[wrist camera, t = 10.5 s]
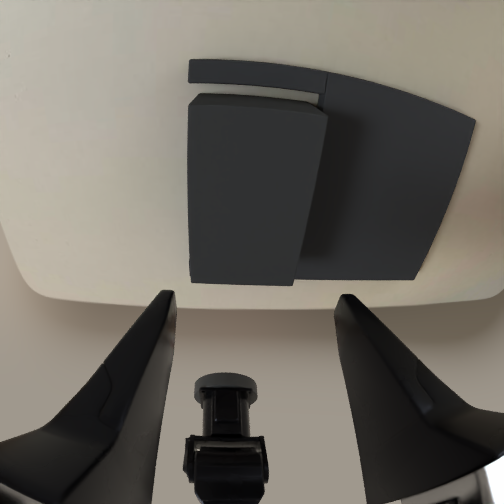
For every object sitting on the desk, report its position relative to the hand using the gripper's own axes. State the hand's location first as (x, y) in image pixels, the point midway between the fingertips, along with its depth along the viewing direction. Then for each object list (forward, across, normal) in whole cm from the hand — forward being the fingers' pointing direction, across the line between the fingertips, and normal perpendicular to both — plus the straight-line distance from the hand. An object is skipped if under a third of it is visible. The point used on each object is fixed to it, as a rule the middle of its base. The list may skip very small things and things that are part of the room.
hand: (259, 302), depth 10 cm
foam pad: (+10, 0, 0) cm, 10 cm away
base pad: (+10, -4, 0) cm, 11 cm away
